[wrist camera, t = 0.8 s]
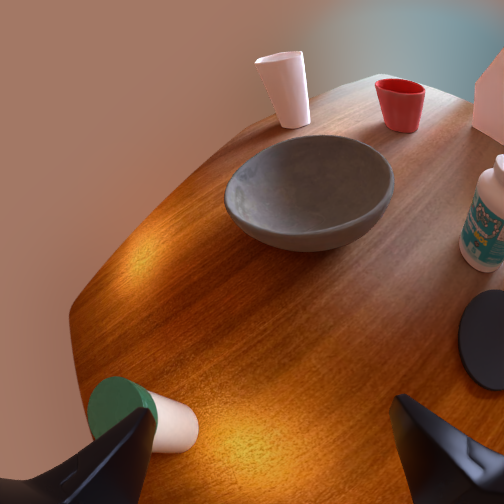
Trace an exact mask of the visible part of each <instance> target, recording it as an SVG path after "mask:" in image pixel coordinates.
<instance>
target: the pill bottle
mask: <svg viewBox="0 0 504 504" xmlns="http://www.w3.org/2000/svg"><path fill="white" fill-rule="evenodd" d="M459 246H460V250H461V253H462V255H463V257H464V258H465V260H466V261H467V262H468V263H469V264H470V265H471V266H472V267H473V268H475V269H477V270H479V271H481V272H493V271H495V270H497V269H498V268H499V267H500V266H501V264H502V263H503V261H504V155H503V154H501V155H498V156H497V157H496V159H495V163H494V166H493V168H491V169H487V170H485V171H484V172H483V173H482V174H481V175H480V177H479V180H478V183H477V187H476V190H475V194H474V197H473V200H472V203H471V206H470V209H469V212H468V215H467V218H466V221H465V224H464V226H463V229H462V232H461V234H460V238H459Z"/></svg>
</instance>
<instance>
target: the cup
mask: <svg viewBox="0 0 504 504" xmlns="http://www.w3.org/2000/svg"><path fill="white" fill-rule="evenodd" d="M254 64H255V67H256V69H257V71H258V73H259V75H260V77H261V80H262V82H263V84H264V86H265V88H266V91H267V93H268V95H269V98H270V100H271V102H272V105H273V107H274V109H275V112H276V114H277V117H278V119H279V122H280V124H281V126H282V127H283V128H291V129H295V128H300V127H302V126H305V125H308V124H309V123H310V114H309V103H308V95H307V86H306V77H305V68H304V61H303V54H302V52H301V51H295V52H282V53H277V54H273V55H269V56H266V57H262V58H259V59H257V60H256V62H255V63H254Z"/></svg>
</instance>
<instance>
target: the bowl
mask: <svg viewBox="0 0 504 504" xmlns="http://www.w3.org/2000/svg"><path fill="white" fill-rule="evenodd" d="M393 190H394V174H393V170H392V168H391V166H390V164H389V163H388V161H387V160H386V159H385V158H384V157H383V156H382V155H381V154H380V153H379V152H378V151H376V150H375V149H374V148H372V147H371V146H369V145H367V144H365V143H362V142H360V141H357V140H354V139H350V138H346V137H342V136H333V135H313V136H303V137H296V138H292V139H289V140H285V141H282V142H280V143H277V144H275V145H272V146H270V147H268V148H266V149H264V150H262V151H261V152H259V153H258V154H256V155H255V156H253V157H252V158H251V159H249V160H248V161H247V162H245V163H244V164H243V165H242V166H241V167H240V168H239V169H238V170H237V171H236V172H235V173H234V174H233V176H232V178H231V179H230V181H229V182H228V184H227V186H226V190H225V195H224V204H225V207H226V210H227V212H228V214H229V215H230V217H231V218H232V219H233V221H234V222H235V223H236V224H237V225H238V226H239V227H240V228H241V229H242V230H243V231H244V232H245V233H246V234H248V235H249V236H251V237H253V238H255V239H257V240H259V241H260V242H262V243H265V244H267V245H270V246H273V247H277V248H280V249H284V250H289V251H296V252H316V251H324V250H329V249H334V248H338V247H341V246H344V245H347V244H349V243H351V242H353V241H355V240H357V239H359V238H360V237H362V236H363V235H365V234H366V233H367V232H368V231H369V230H370V229H371V228H372V227H373V226H374V225H375V224H376V223H377V222H378V220H379V219H380V218H381V216H382V215H383V214H384V212H385V210H386V208H387V206H388V204H389V202H390V200H391V197H392V194H393Z"/></svg>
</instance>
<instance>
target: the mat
mask: <svg viewBox="0 0 504 504" xmlns="http://www.w3.org/2000/svg"><path fill="white" fill-rule="evenodd" d="M458 346H459V352H460V357H461V360H462V363H463V365H464V368H465V369H466V371H467V373H468V374H469V376H470V377H471V378H472V380H473V381H474V382H475V383H477V384H478V385H479V386H481V387H483V388H485V389H487V390H491V391H501V390H504V291H502V290H488V291H485V292H482V293H480V294H479V295H477V296H476V297H475V298H474V299H473V300H472V301H471V302H470V303H469V304H468V306H467V307H466V309H465V311H464V313H463V315H462V318H461V321H460V325H459V331H458Z"/></svg>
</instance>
